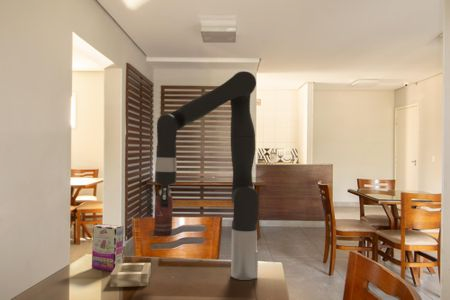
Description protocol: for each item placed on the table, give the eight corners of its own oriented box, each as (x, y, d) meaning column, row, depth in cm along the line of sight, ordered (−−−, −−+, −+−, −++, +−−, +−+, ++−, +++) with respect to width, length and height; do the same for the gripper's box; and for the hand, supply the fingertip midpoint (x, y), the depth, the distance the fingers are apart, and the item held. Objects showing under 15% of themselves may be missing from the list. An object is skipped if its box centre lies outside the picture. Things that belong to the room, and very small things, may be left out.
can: (168, 237, 116) (170, 196, 116) (151, 236, 117) (152, 195, 118) (174, 233, 122) (176, 194, 122) (158, 232, 123) (159, 194, 124)
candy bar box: (123, 268, 130) (124, 225, 130) (114, 272, 125) (115, 228, 125) (100, 264, 134) (101, 223, 134) (91, 268, 129) (92, 225, 130)
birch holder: (150, 273, 125) (150, 262, 125) (147, 285, 113) (147, 273, 113) (117, 274, 123) (117, 263, 123) (110, 286, 111) (110, 274, 111)
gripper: (176, 171, 114) (174, 222, 114) (176, 169, 127) (175, 216, 127) (153, 170, 113) (152, 222, 113) (156, 169, 126) (155, 215, 126)
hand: (164, 219), depth 120 cm, fingers closed
